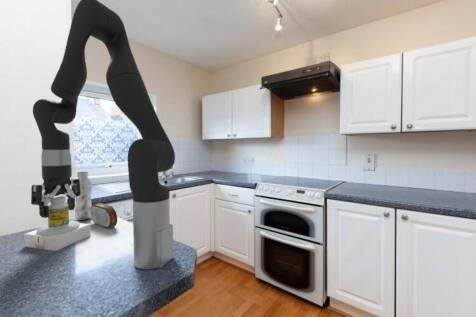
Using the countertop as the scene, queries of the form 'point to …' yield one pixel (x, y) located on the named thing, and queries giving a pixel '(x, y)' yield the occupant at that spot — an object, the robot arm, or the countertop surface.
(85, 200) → the plastic bottle
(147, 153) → the robot arm
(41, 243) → the kitchen scale
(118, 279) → the countertop surface
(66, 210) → the supplement bottle
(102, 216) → the tin
